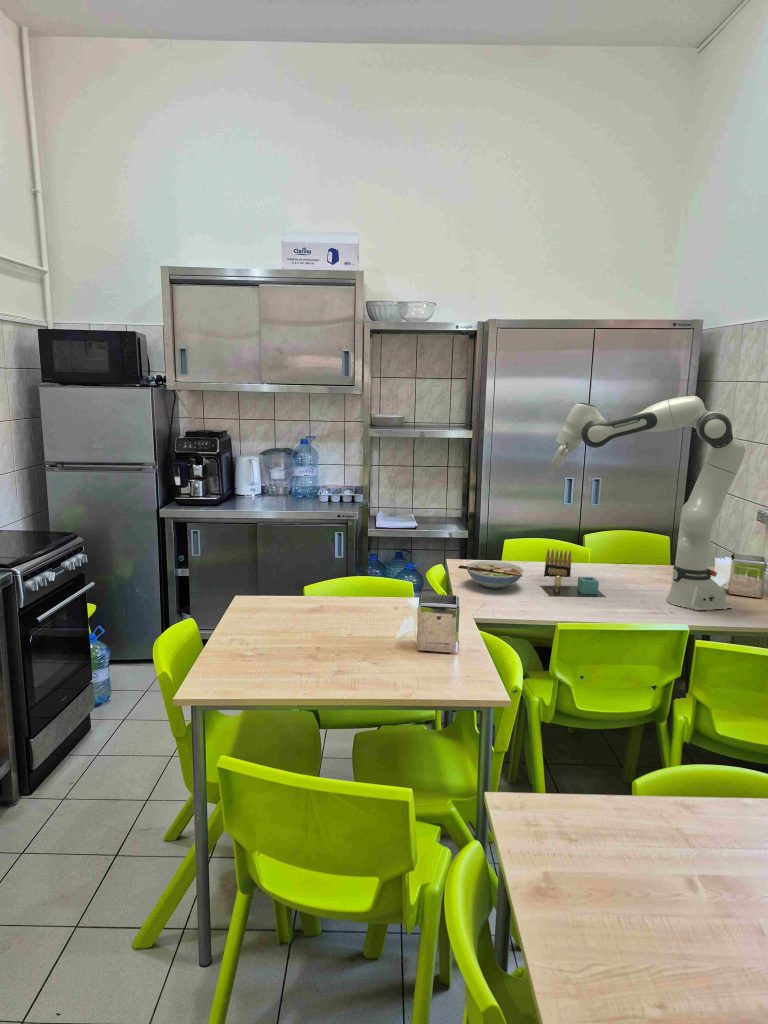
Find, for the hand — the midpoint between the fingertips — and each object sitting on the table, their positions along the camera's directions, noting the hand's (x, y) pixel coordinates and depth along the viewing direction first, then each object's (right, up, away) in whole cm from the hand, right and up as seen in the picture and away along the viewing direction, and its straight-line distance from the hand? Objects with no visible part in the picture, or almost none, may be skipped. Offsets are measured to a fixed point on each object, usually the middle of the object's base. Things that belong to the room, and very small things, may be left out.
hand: (552, 473), depth 268 cm
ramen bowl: (-23, -45, +2) cm, 51 cm away
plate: (+7, -47, -4) cm, 48 cm away
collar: (+13, -46, -4) cm, 48 cm away
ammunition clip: (+7, -43, +18) cm, 47 cm away
